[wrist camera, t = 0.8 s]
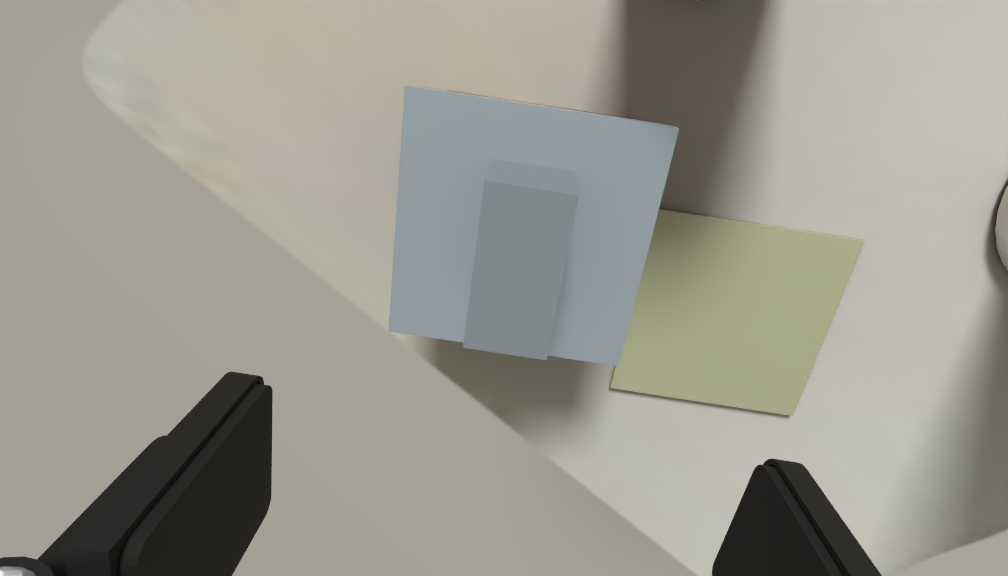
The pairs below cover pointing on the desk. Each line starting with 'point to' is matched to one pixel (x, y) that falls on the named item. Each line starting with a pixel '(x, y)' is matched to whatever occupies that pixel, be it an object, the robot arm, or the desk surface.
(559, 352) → the lid
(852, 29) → the desk surface
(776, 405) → the felt mat
